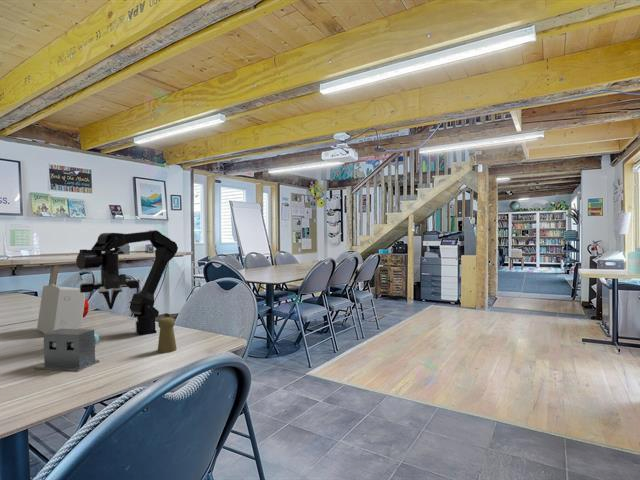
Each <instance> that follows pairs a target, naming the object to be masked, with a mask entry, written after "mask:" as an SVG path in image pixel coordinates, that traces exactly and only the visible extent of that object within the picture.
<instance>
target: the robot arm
mask: <svg viewBox="0 0 640 480" xmlns="http://www.w3.org/2000/svg"><path fill="white" fill-rule="evenodd" d="M138 242H139V243H140V242H150V244H151V246H152V247H154V248H155V249H154V250H155V251H154V255H155V259H154V262H153V264H152V266H151V269H150V271H149V273H148V275H147V277H146V279H145V282H144V285H143V286H142V289H141V290H140V292H138V293H134V294H133V295H132V298H131V300H130V302H129V310H130V312H131V313H132V314H133V317H134V318H136V321H135V332H136V334H137V335H138V336H141V335H150V334H154V333H157V330H156V318H158V317H159V314H160V311H159V309H157V308H156V307H154V306H155V293H156V290H157V288H158V286H159V283H160V281H161V278H162V276H163V274H164V271H165V270H166V267H167V264H168V263H169V262H170V261H171V260H172V259H173V258H174V257H175V256H176V254H177V252H178V249H179V247H178V244H177V242H176V241H174V240H171V238H169V237H167V236H165V235H164V234H162V233H161V232H160V231H159V230H155V229H153V230H151V229H150V230H148V231H141V232H140V231H139V232H130V233H123V232H122V233H119V232H103V233H100V234H99V235H98V237H97V241H96V242H95V244H94V245H93V246H92V248H91V249H79V253H78V254H77V255H76V256H77V257H76V258H75V261H76V267H77V268H78V269H79V270H86V269H87V270H88V269H98V268H100V283H99V284H98V283H97V284H94V282H83V283H80V285H79V288H80V292H81V293H84V294H85V293H92V292H93V291H94V290H97V292H98V294H101V295H103V298H104V299H105V301H106V304H107V306H108V309H109V310H113V308H114V305H115V302H116V298H117V297H118V294H119V293H122V292H123V289H122V288H127V287H128V288H129V289H139V288H140V281H139V280H138V279H127V275H126V274H125V273H122V274H119V273H120V271H119V264H120V263H119V255H124V254H125V251H123V250H121V247H123V246H125V245H128V244H133V243H138ZM102 252H103V253H102ZM109 290H111V293H110V291H109Z"/></svg>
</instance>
